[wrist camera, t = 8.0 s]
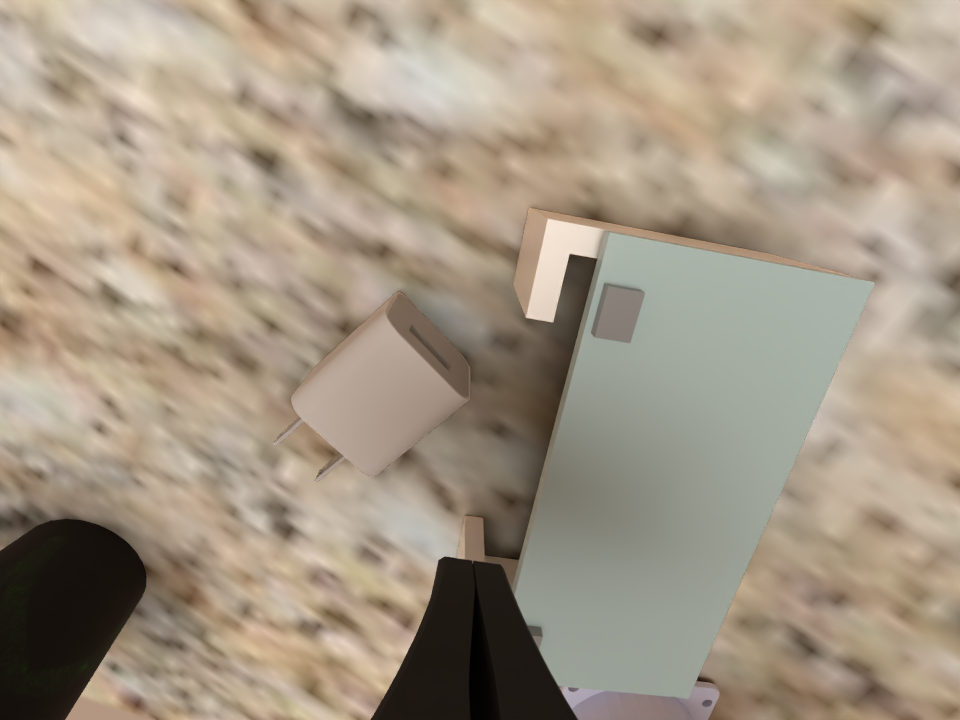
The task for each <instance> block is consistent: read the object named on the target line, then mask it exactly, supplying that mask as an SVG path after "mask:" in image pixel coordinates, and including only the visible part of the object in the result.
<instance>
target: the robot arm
mask: <svg viewBox="0 0 960 720" xmlns="http://www.w3.org/2000/svg"><path fill="white" fill-rule="evenodd" d="M719 695H720V693H719V691H718V689H717V686H716V685H715V684H713V683H709V682H700V681H696V683H695V685H694V687H693V689H692V691H691V694H690V696H689V698H688V699H687V698H677V697H666V696H656V695H645V694H635V693H624V692H614V691H603V690H593V689H582V688H572V687H562V686H561V687H560V688H559V686H558V685H557V683H556V681H555V679H554V677H553V676H552V674H551V672H550V670H549V668H548V666H547V664H546V663H545V661H544V659H543V657H542V655H541V653H540V651H539V649H538V647H537V645H536V643H535V641H534V639H533V637H532V634H531V632H530V630H529V628H528V626H527V624H526V622H525V620H524V617H523V615H522V613H521V611H520V608H519V606H518V604H517V601H516V599H515V596H514V594H513V592H512V589H511V586H510V584H509V581H508V579H507V576H506V573H505V570H504V568H503V567H502V566H501V564H494V563H487V562H480V561H473V564H472V560H466V559H458V558H451V557H443V558H441V559H440V560H439V561H438V566H437V571H436V575H435V580H434V585H433V590H432V595H431V598H430V601H429V604H428V607H427V609H426V612H425V614H424V617H423V619H422V622H421V624H420V626H419V629H418V631H417V634H416V636H415V638H414V640H413V642H412V644H411V646H410V648H409V650H408V652H407V654H406V657H405V659H404V661H403V663H402V665H401V667H400V669H399V671H398V673H397V674H396V676H395V678H394V680H393V682H392V684H391V686H390V687H389V689H388V691H387V693H386V694H385V696H384V698H383V700H382V701H381V703H380V705H379V706H378V708H377V710H376V712H375V713H374V715H373V717H372V718H371V720H708V719H709V717H710V715H711V713H712V711H713V708H714V706H715V704H716V702H717V700H718V698H719Z"/></svg>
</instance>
